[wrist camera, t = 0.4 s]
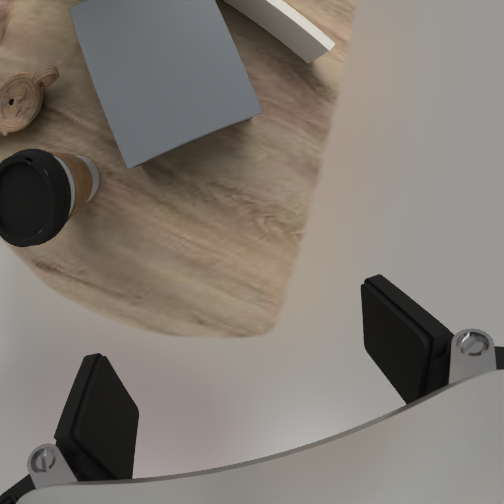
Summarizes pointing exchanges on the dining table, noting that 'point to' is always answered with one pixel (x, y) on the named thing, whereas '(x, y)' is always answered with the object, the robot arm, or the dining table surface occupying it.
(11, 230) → the coffee cup
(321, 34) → the door
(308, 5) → the dining table surface
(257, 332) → the dining table surface
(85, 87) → the dining table surface
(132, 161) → the cabinet
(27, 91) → the oil lamp
